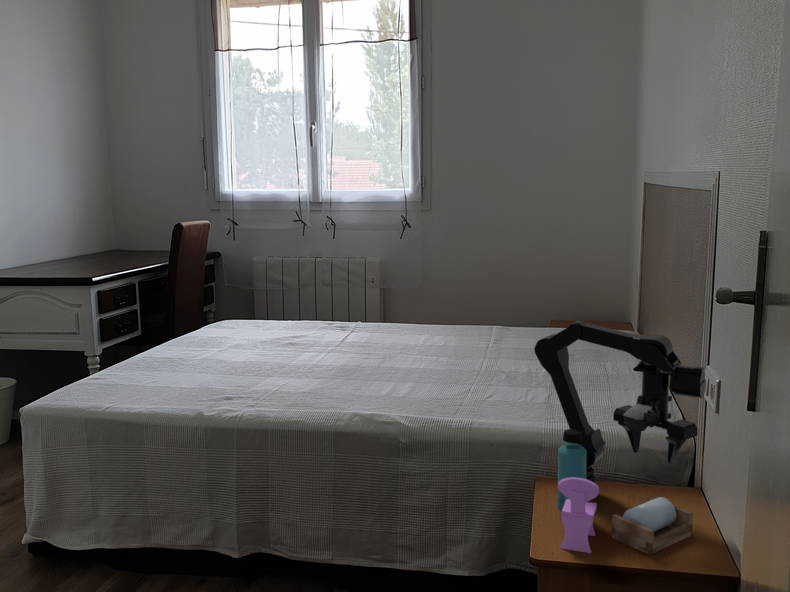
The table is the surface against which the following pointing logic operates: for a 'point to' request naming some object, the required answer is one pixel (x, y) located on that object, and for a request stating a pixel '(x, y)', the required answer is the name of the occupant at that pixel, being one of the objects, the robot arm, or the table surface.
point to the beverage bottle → (570, 460)
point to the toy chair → (578, 512)
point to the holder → (652, 532)
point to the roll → (653, 514)
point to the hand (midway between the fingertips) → (652, 457)
